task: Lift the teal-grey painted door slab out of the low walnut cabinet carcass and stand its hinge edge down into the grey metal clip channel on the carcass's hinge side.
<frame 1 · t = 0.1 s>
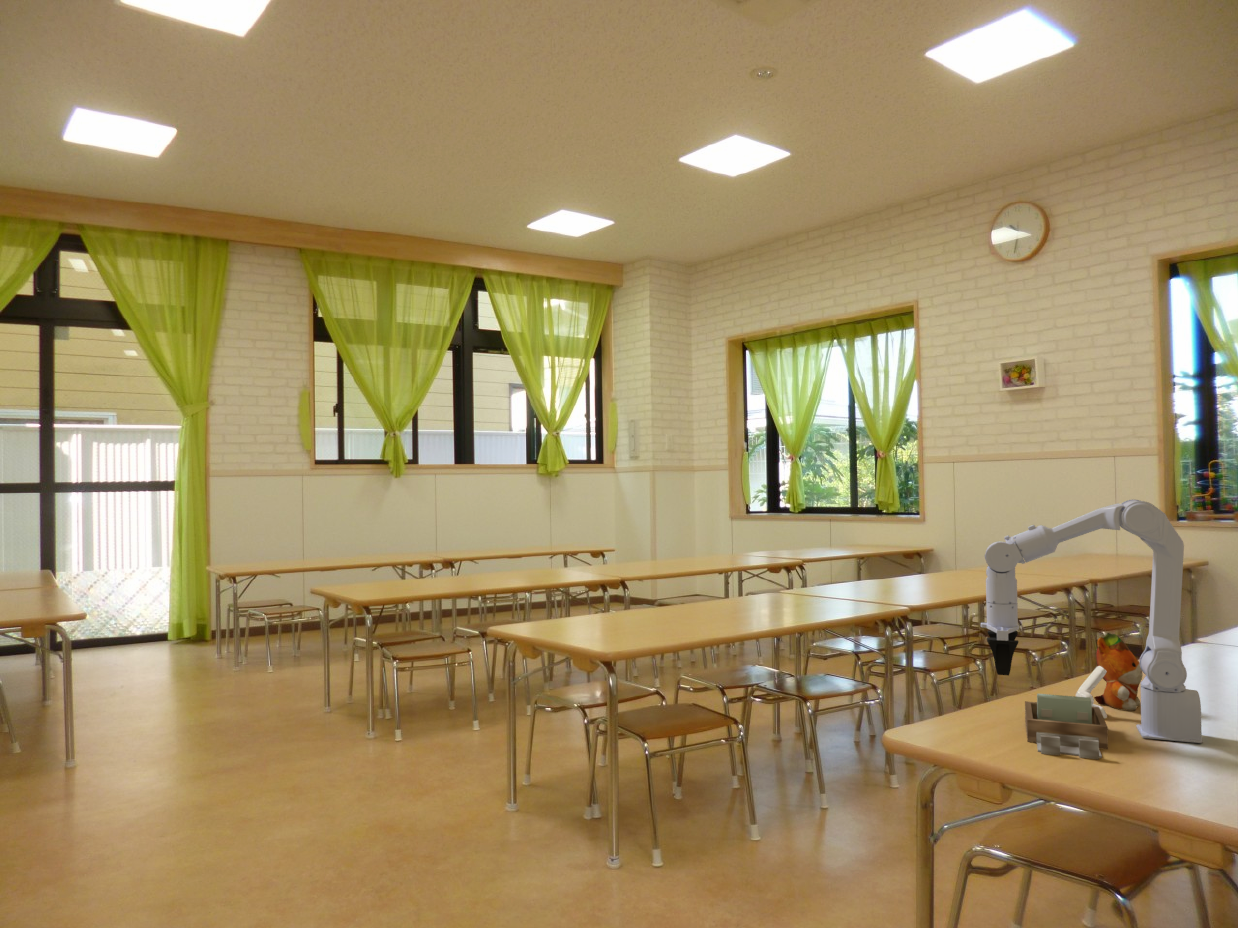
hand: (1003, 670, 176), 10 cm above the table, fingers open, 7 cm apart
toy: (1118, 705, 187), on the table
carcass: (1064, 734, 166), on the table
white vr controller: (1085, 715, 180), on the table
door: (1064, 729, 166), point 1 cm above the table, touching carcass
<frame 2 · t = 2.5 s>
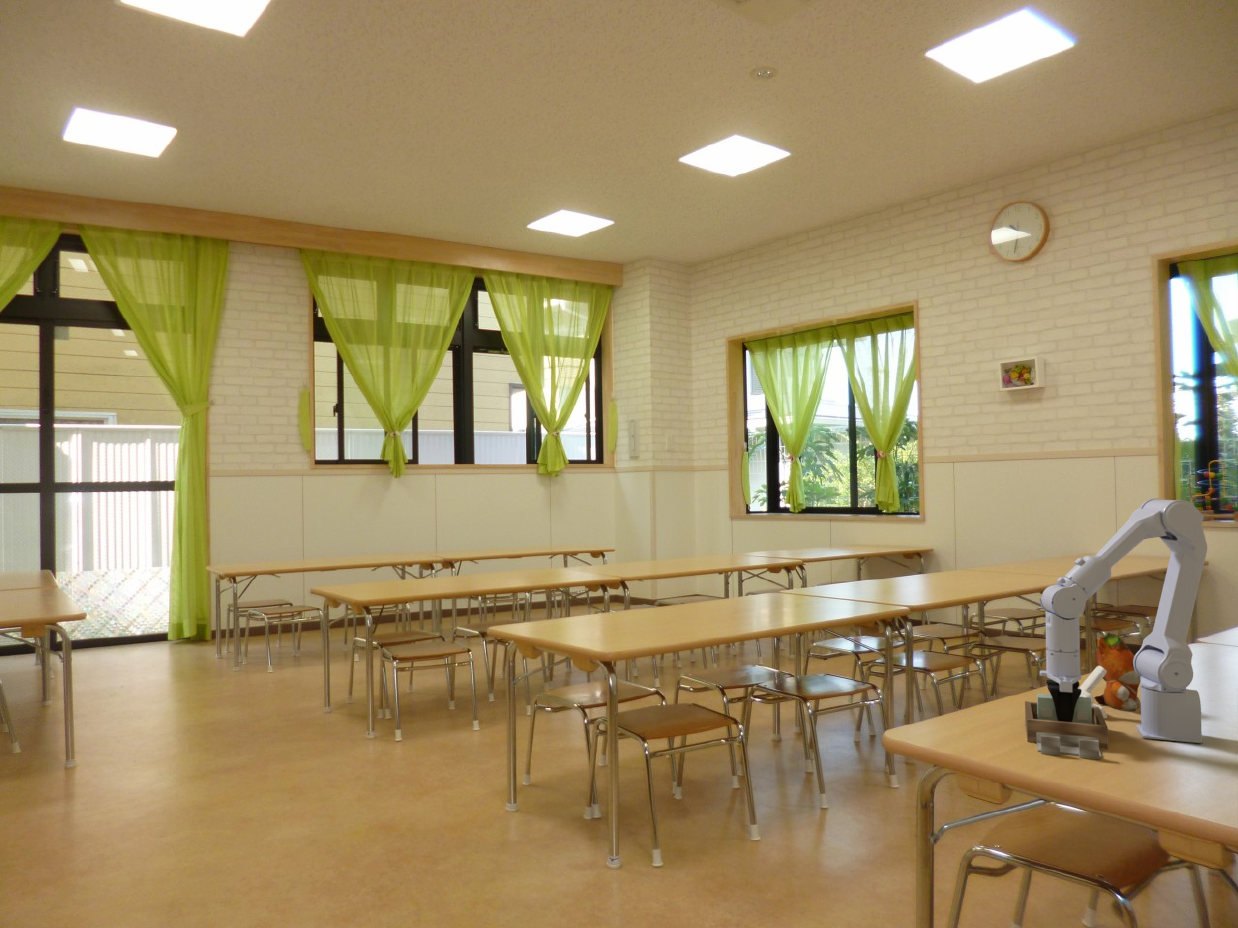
hand: (1064, 721, 166), 2 cm above the table, fingers closed on door, 3 cm apart
door: (1064, 729, 166), point 1 cm above the table, touching carcass, gripper
everything else where it was.
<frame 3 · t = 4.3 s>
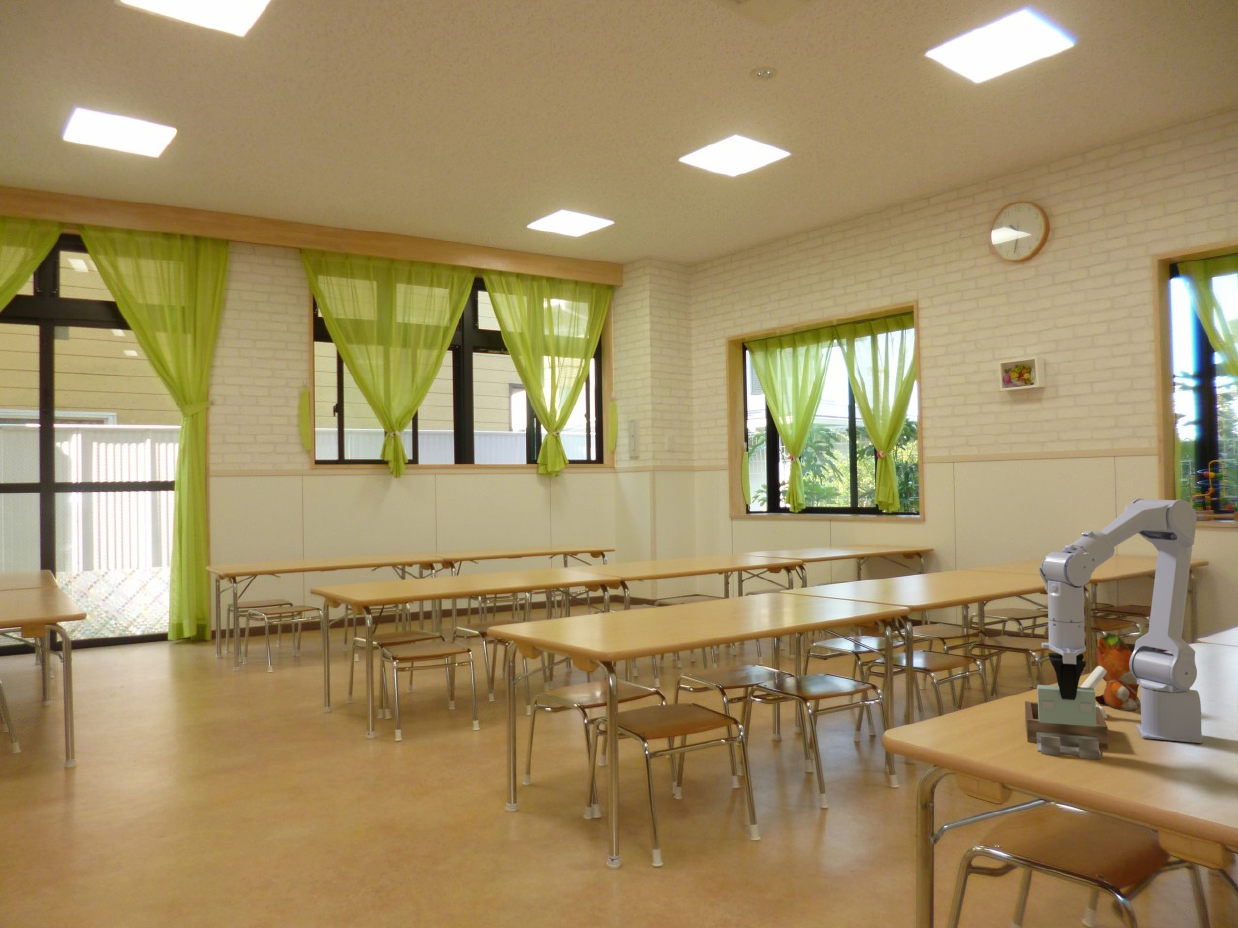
hand: (1067, 696, 157), 10 cm above the table, fingers closed on door, 3 cm apart
door: (1066, 722, 157), point 5 cm above the table, touching gripper
everything else where it was.
when the fingers open (3 cm above the table, at t = 6.1 s): door stays where it is, resting on carcass.
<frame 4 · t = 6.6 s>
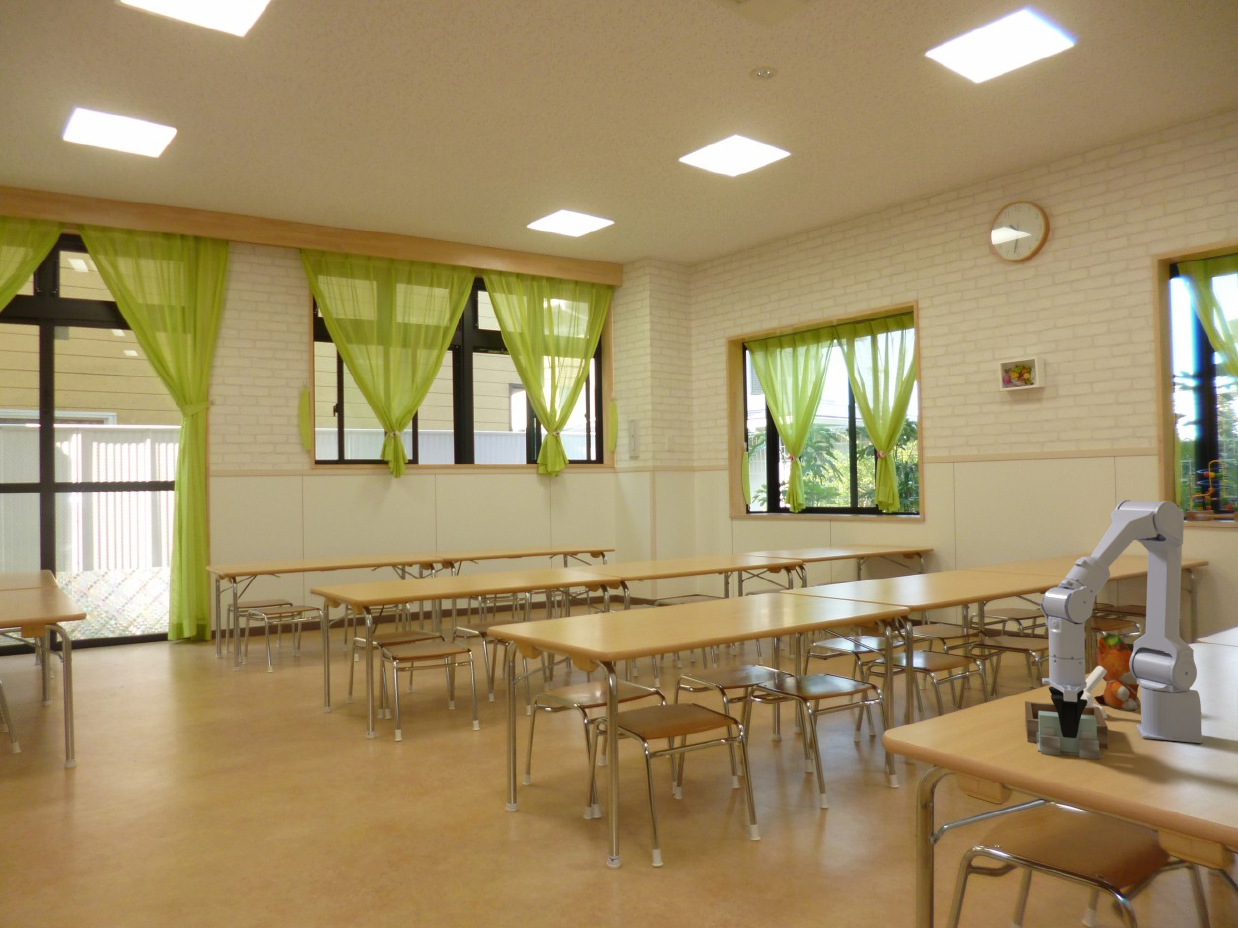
hand: (1068, 732, 157), 3 cm above the table, fingers open, 5 cm apart
door: (1067, 748, 157), resting on carcass
everything else where it was.
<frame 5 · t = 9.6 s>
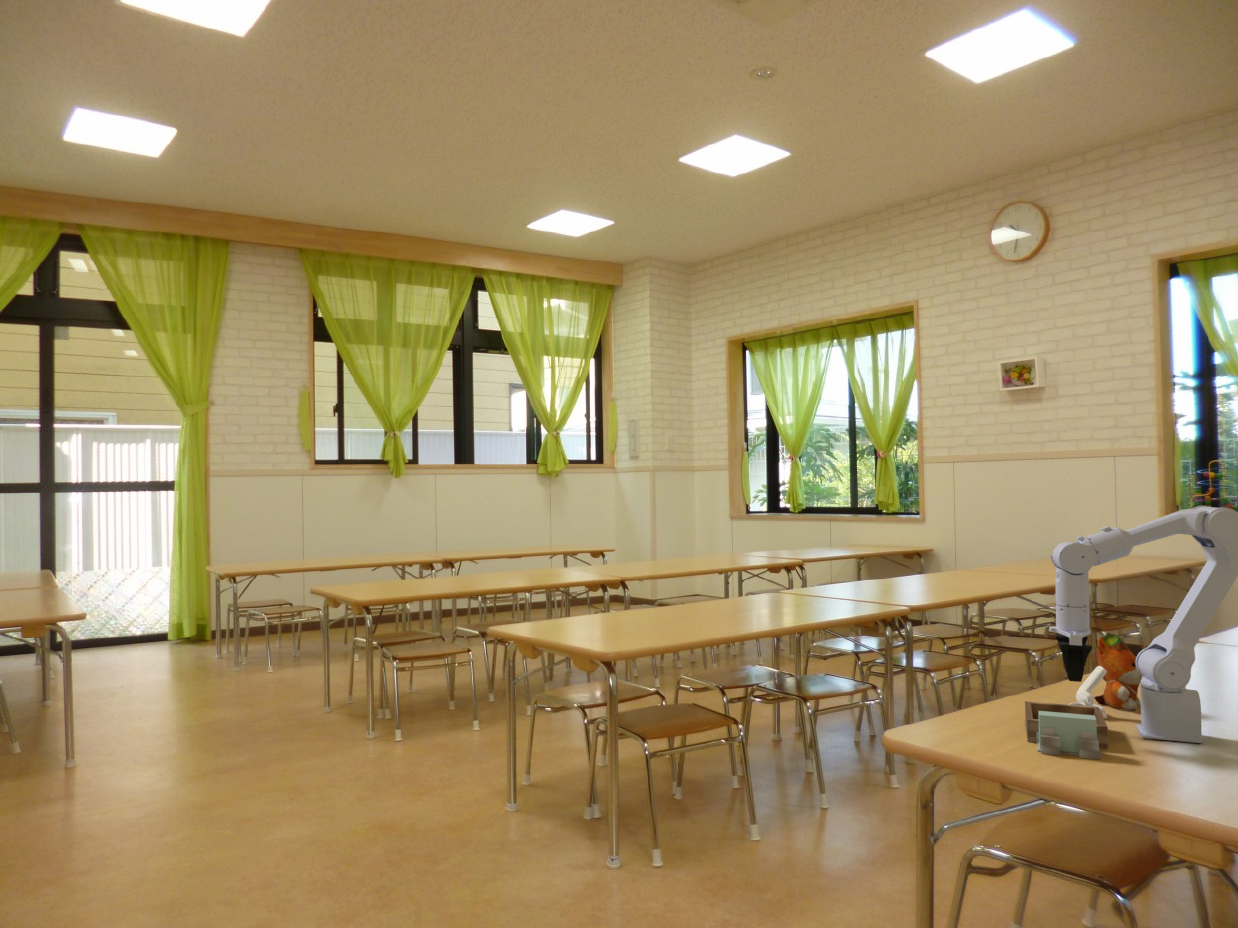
hand: (1073, 676, 169), 10 cm above the table, fingers open, 7 cm apart
nothing on the table moved.
at the end: door 0.2 cm from the target spot on the carcass, point 0.3 cm above the carcass's base; door tilted 0°; the gripper is holding nothing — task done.
